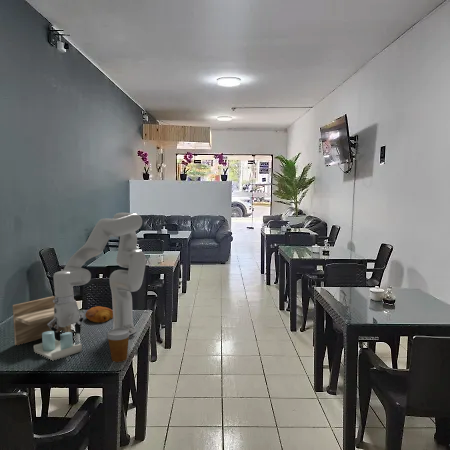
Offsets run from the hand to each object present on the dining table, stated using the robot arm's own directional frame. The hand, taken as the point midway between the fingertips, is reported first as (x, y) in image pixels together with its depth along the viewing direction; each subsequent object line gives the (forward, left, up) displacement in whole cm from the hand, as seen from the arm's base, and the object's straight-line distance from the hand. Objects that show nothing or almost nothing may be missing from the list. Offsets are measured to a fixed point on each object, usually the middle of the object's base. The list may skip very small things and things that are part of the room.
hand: (68, 336), depth 190 cm
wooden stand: (+20, +1, -7) cm, 22 cm away
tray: (+4, +3, -7) cm, 9 cm away
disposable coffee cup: (-25, -9, -7) cm, 27 cm away
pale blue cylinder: (0, +1, -6) cm, 6 cm away
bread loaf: (+29, -37, -7) cm, 48 cm away
